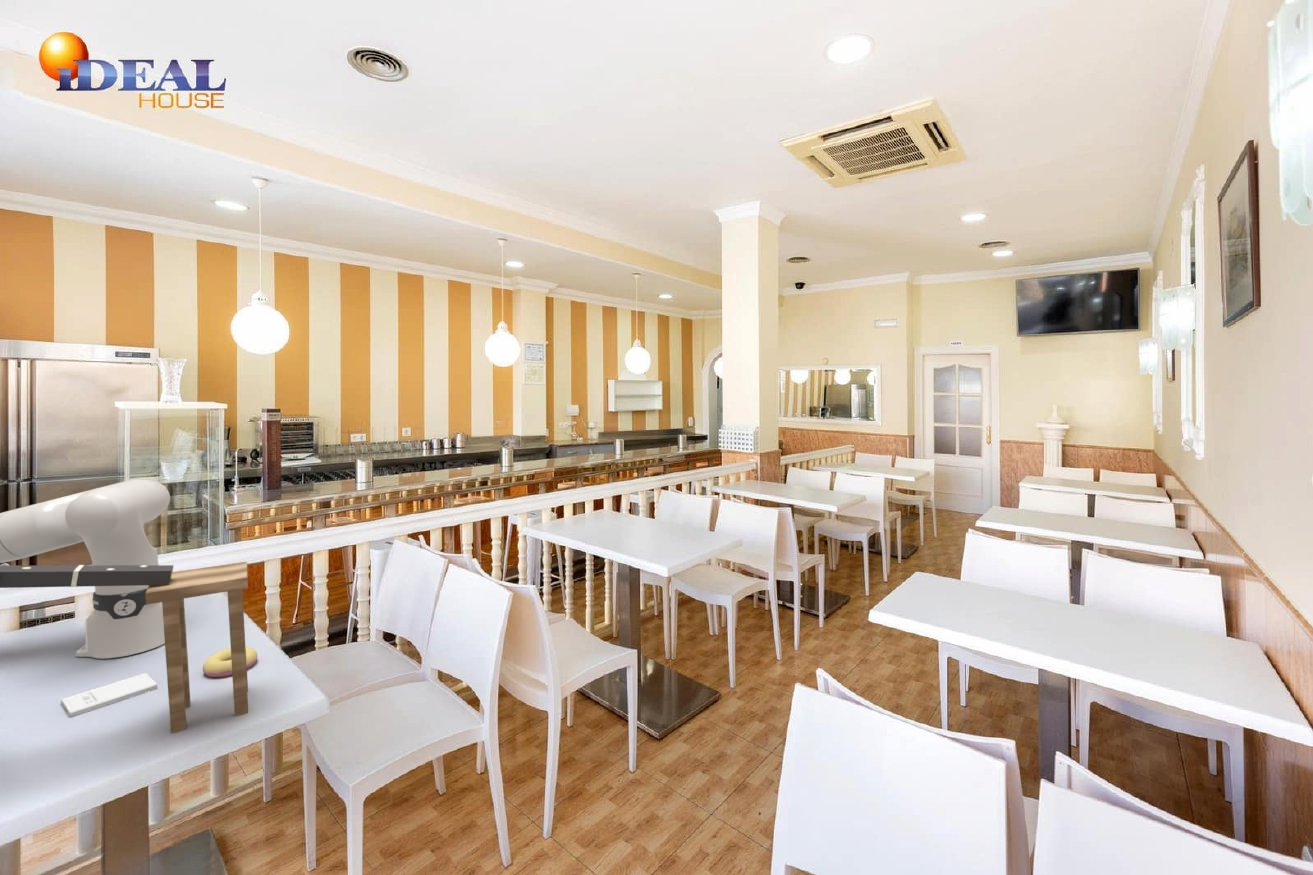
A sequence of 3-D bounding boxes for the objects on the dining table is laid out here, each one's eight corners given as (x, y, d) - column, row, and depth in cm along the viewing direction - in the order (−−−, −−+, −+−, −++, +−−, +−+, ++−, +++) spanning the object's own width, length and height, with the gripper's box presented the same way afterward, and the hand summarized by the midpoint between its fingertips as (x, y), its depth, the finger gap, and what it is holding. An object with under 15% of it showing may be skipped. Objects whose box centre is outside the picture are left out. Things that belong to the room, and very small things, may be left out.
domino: (-29, 581, 88) (-25, 564, 88) (171, 579, 102) (173, 564, 102) (-39, 589, 85) (-36, 571, 85) (168, 585, 99) (171, 570, 99)
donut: (262, 666, 128) (216, 664, 126) (266, 645, 128) (220, 643, 126) (241, 681, 118) (190, 679, 116) (245, 658, 119) (195, 656, 117)
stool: (163, 707, 107) (154, 574, 105) (253, 685, 115) (247, 561, 113) (155, 739, 97) (145, 593, 95) (254, 712, 105) (247, 577, 103)
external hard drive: (157, 691, 113) (70, 720, 103) (145, 679, 118) (61, 706, 108) (157, 683, 113) (69, 711, 103) (145, 672, 118) (60, 697, 108)
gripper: (-65, 624, 91) (38, 569, 98) (-132, 675, 75) (-3, 605, 82) (-99, 596, 89) (9, 542, 96) (-176, 642, 73) (-40, 573, 79)
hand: (3, 571), depth 88 cm, fingers closed on domino, 4 cm apart
